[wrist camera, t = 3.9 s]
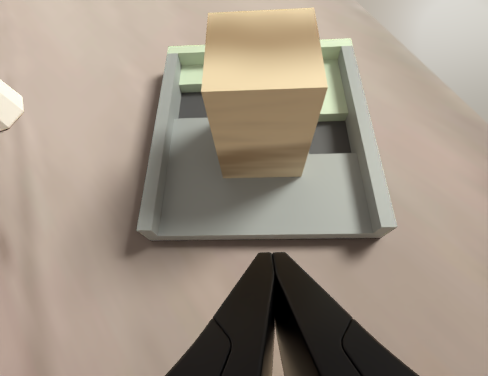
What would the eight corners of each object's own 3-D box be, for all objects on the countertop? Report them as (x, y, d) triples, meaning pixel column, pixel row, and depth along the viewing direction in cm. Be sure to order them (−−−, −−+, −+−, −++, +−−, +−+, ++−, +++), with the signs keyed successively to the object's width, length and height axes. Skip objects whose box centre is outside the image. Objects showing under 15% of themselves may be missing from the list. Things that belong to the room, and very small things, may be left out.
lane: (381, 237, 20) (397, 226, 18) (150, 240, 21) (136, 230, 18) (342, 62, 28) (350, 38, 25) (175, 68, 28) (168, 46, 26)
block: (301, 176, 21) (327, 87, 13) (223, 178, 21) (201, 91, 13) (295, 114, 24) (314, 7, 15) (225, 116, 24) (208, 12, 16)
